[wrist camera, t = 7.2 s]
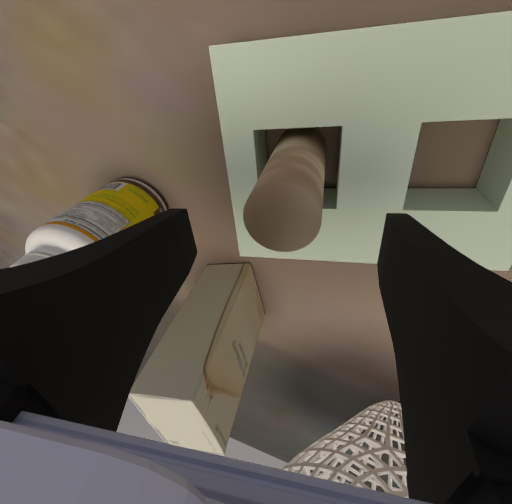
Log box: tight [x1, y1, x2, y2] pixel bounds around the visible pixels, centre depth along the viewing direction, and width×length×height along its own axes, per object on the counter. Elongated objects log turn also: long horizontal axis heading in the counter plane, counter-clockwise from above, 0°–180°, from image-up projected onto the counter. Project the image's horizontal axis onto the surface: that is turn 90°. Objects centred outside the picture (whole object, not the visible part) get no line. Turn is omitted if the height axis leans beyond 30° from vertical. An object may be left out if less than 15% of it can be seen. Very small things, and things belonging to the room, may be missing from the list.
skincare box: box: [128, 263, 265, 456], centre depth 22 cm, size 6×4×12 cm
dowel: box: [243, 127, 327, 252], centre depth 15 cm, size 3×3×9 cm
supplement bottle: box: [10, 178, 167, 267], centre depth 20 cm, size 6×6×10 cm
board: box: [209, 11, 512, 271], centre depth 16 cm, size 16×12×3 cm
